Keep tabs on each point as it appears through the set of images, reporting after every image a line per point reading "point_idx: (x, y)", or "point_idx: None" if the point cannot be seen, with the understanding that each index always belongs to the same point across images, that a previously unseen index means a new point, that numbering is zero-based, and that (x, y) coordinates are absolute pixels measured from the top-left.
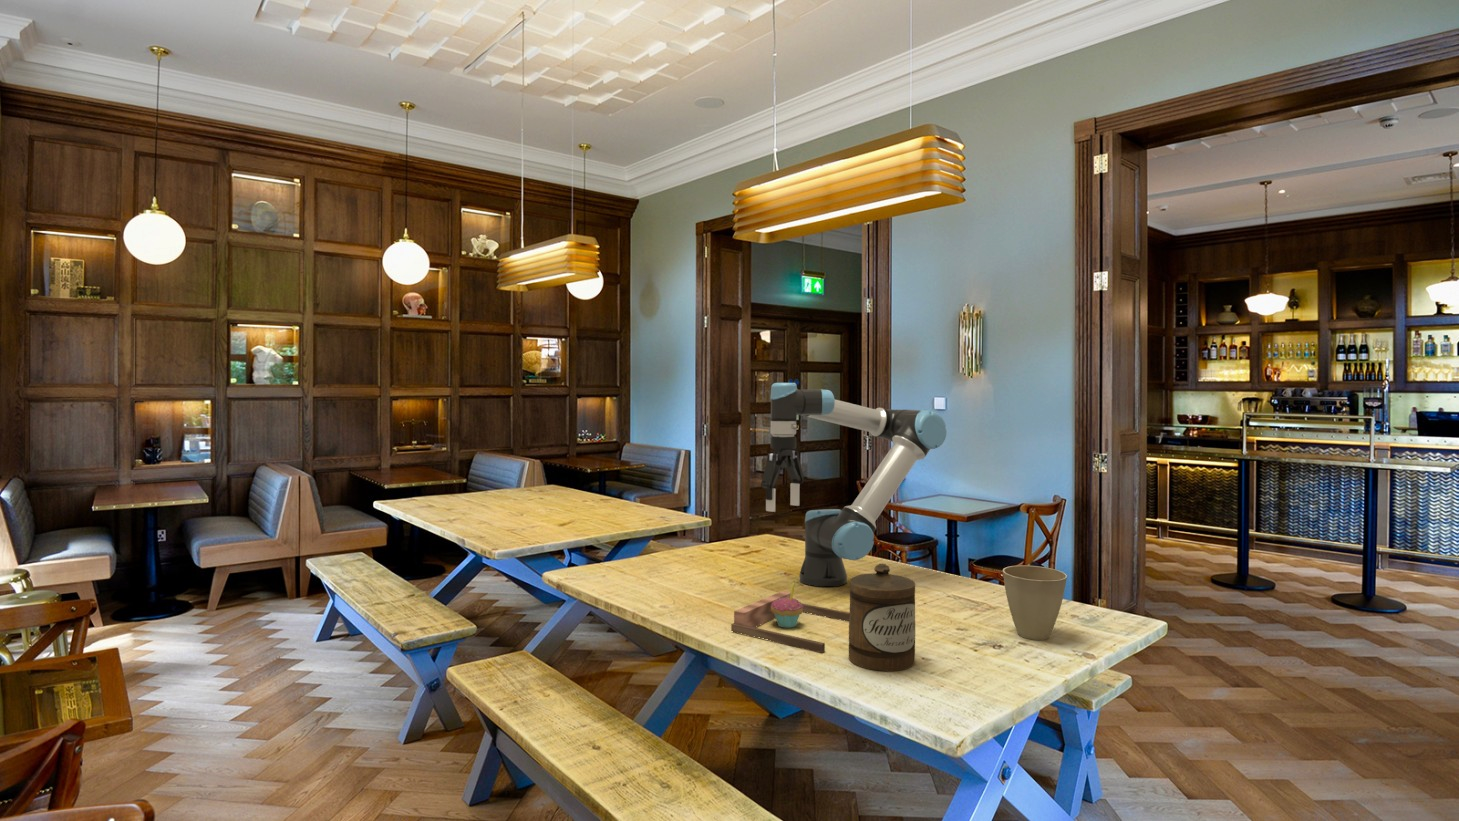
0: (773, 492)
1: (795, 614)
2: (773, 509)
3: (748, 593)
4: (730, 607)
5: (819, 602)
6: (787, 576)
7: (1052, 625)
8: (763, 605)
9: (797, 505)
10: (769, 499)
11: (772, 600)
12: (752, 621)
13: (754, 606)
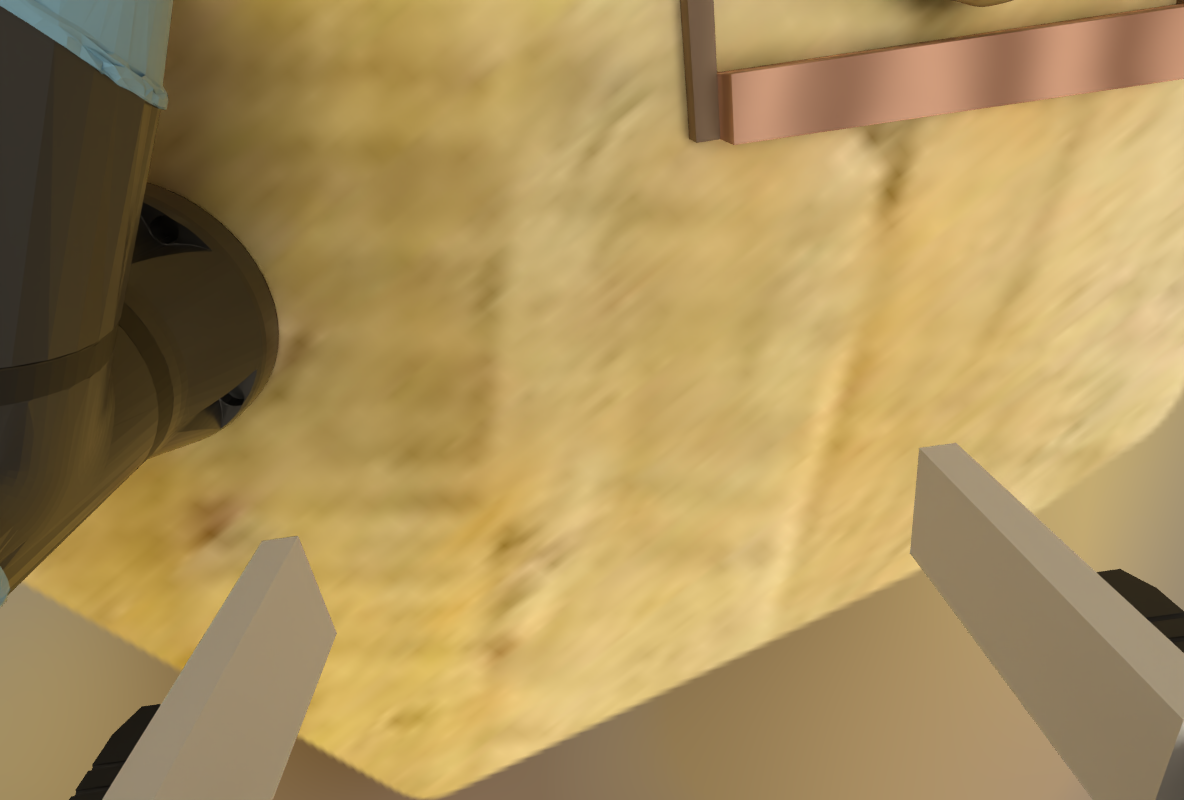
0: (1173, 657)
1: None
2: (974, 465)
3: (615, 424)
4: (850, 333)
5: (481, 53)
6: (243, 491)
7: None
8: (1059, 25)
9: (299, 547)
10: (1130, 587)
11: (955, 45)
12: (1125, 13)
13: (1116, 44)
